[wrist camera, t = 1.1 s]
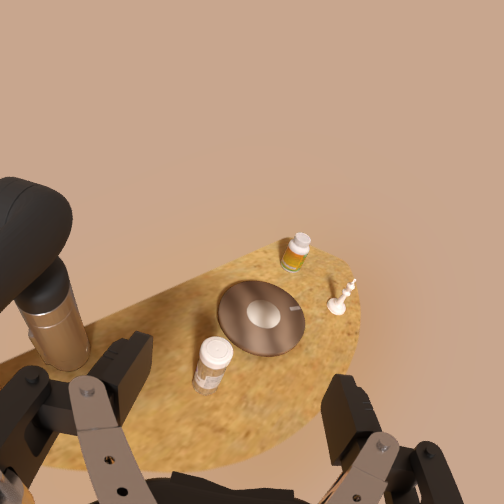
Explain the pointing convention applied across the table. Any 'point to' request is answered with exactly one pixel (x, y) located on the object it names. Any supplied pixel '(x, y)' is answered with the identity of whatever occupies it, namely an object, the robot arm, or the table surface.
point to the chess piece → (340, 300)
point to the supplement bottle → (296, 253)
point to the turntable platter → (261, 318)
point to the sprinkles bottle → (211, 364)
